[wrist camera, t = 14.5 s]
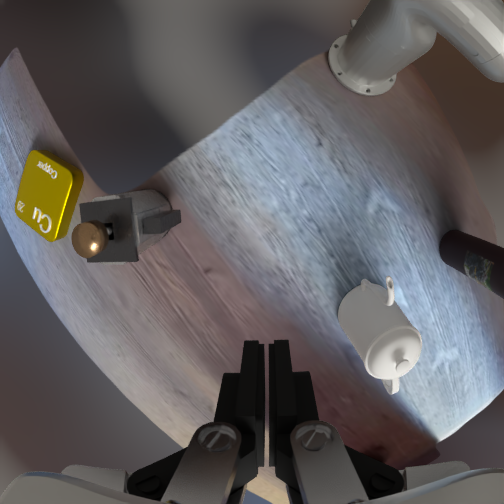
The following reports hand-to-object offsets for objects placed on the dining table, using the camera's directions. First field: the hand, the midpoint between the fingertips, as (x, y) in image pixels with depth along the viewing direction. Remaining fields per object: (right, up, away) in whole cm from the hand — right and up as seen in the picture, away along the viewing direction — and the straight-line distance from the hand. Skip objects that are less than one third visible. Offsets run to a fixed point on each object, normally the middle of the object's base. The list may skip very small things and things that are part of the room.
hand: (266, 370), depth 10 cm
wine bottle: (+39, +6, +35) cm, 53 cm away
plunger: (-19, +10, +31) cm, 38 cm away
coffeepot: (+20, -5, +39) cm, 44 cm away
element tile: (-42, +17, +36) cm, 58 cm away
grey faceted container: (-17, +11, +36) cm, 42 cm away
